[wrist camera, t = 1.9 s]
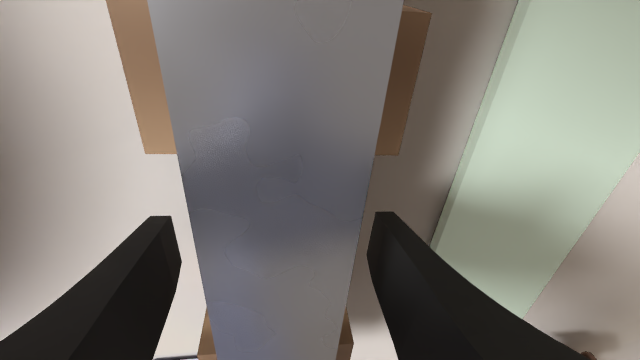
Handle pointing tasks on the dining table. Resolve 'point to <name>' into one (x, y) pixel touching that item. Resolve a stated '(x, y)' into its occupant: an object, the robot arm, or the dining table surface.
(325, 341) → the rail
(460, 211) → the mat
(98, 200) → the dining table surface
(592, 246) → the dining table surface
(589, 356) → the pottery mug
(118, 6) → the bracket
